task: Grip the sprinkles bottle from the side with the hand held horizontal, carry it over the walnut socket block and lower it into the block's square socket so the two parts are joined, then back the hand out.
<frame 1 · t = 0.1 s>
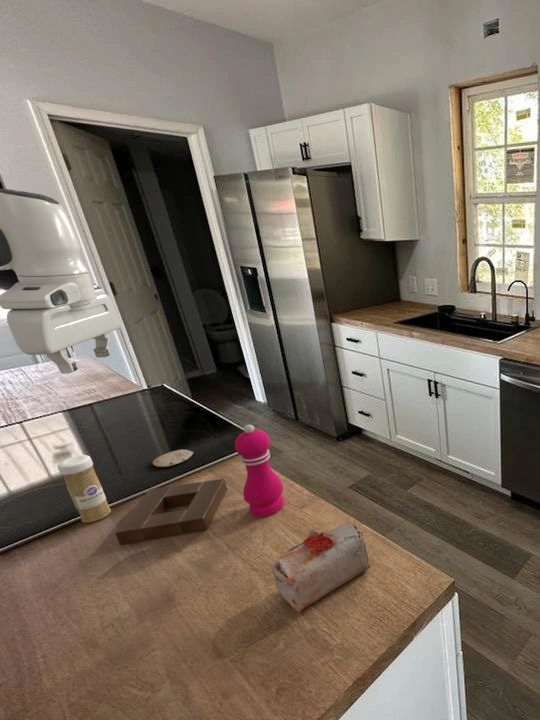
hand: (87, 363, 78), 32 cm above the worktop, tool pointing down, fingers open, 8 cm apart
flatbread: (174, 460, 105), on the worktop
food item: (326, 582, 71), on the worktop
sprinkles bottle: (97, 517, 85), on the worktop
pepper mill: (267, 508, 88), on the worktop
socket block: (179, 514, 86), on the worktop
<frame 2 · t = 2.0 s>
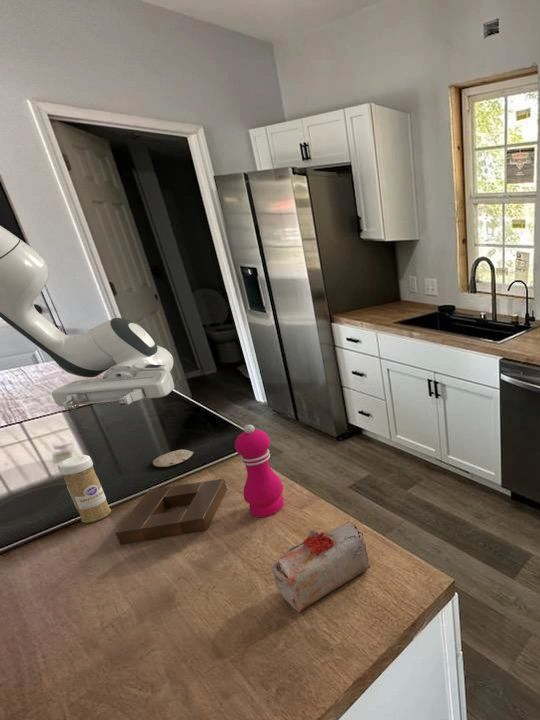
hand: (96, 404, 88), 20 cm above the worktop, tool horizontal, fingers open, 8 cm apart
nothing on the worktop moved.
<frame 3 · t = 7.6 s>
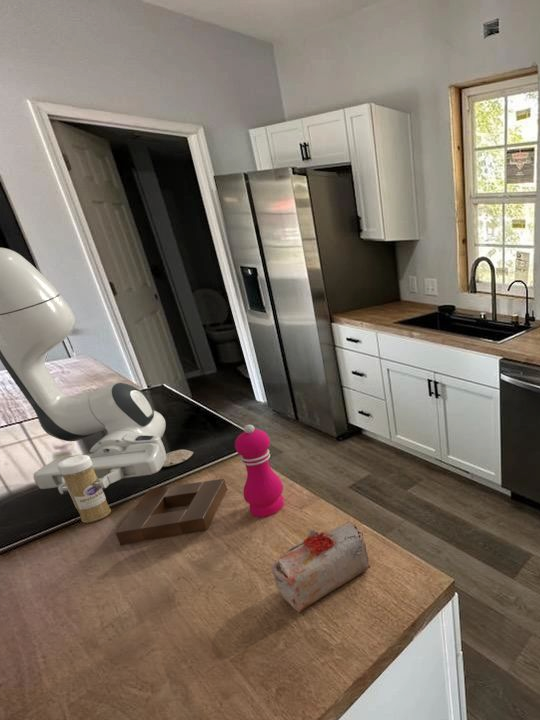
hand: (81, 488, 81), 8 cm above the worktop, tool horizontal, fingers closed on sprinkles bottle, 4 cm apart
sprinkles bottle: (97, 517, 85), on the worktop, touching gripper
everything else where it was.
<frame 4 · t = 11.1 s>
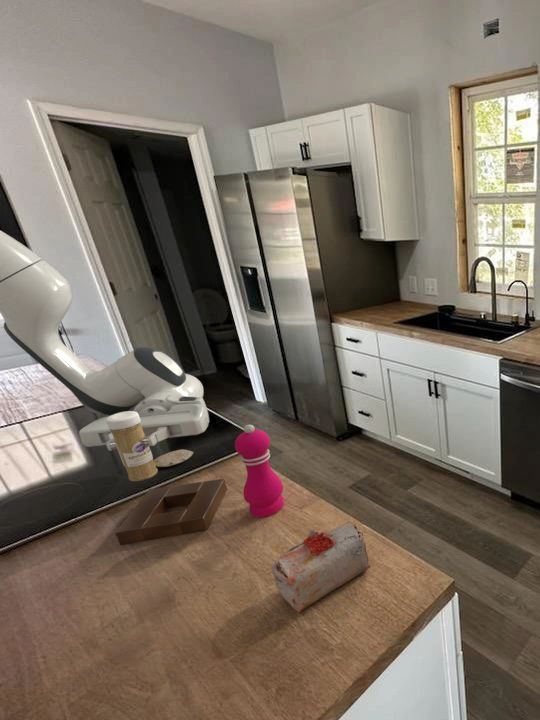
hand: (130, 445, 79), 17 cm above the worktop, tool horizontal, fingers closed on sprinkles bottle, 4 cm apart
sprinkles bottle: (144, 476, 82), point 9 cm above the worktop, touching gripper
everything else where it was.
when the fingers open (7 cm above the worktop, at t = 14.7 s): sprinkles bottle stays where it is, resting in socket block.
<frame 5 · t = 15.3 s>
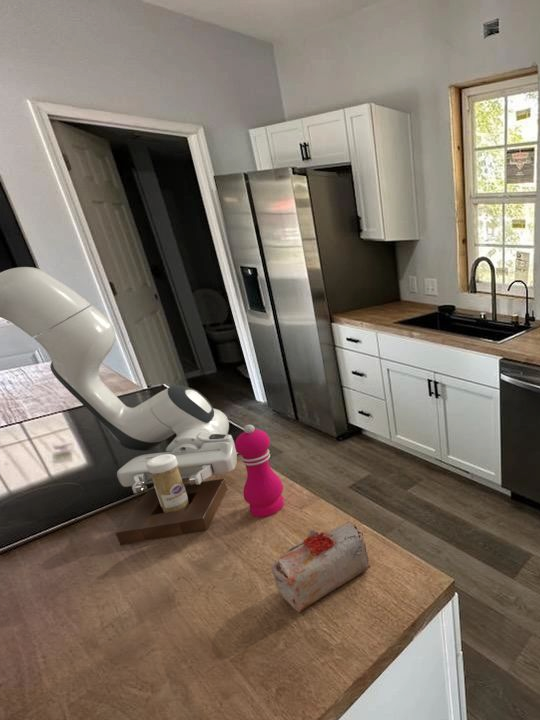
hand: (166, 486, 82), 8 cm above the worktop, tool horizontal, fingers open, 8 cm apart
sprinkles bottle: (179, 515, 86), resting in socket block
everything else where it was.
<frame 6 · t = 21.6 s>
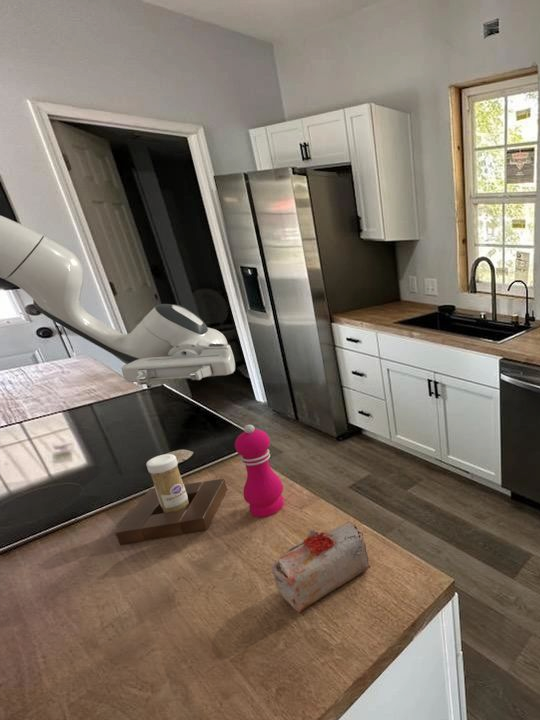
hand: (168, 379, 87), 26 cm above the worktop, tool horizontal, fingers open, 8 cm apart
nothing on the worktop moved.
at the end: sprinkles bottle 0.0 cm off-centre in the socket block, point 0.0 cm above the socket block's base; sprinkles bottle tilted 0°; the gripper is holding nothing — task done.
